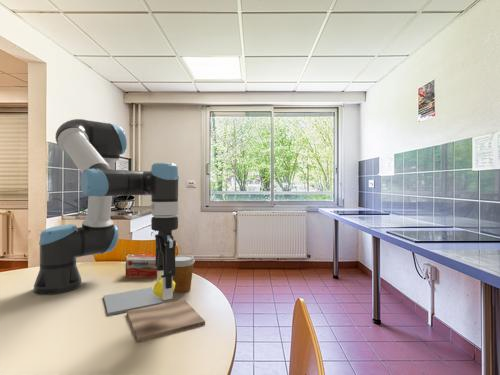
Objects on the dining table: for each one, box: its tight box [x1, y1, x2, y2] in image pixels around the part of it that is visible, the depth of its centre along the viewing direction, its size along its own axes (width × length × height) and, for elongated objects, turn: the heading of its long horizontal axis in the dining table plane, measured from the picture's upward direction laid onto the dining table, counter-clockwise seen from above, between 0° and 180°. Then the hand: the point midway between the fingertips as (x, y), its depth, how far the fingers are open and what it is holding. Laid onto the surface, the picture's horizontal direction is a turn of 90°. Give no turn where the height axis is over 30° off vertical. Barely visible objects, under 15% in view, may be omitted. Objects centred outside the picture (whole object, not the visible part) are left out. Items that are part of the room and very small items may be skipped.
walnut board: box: [126, 299, 206, 343], centre depth 84 cm, size 18×18×1 cm
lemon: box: [152, 279, 176, 299], centre depth 84 cm, size 7×5×5 cm
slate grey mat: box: [103, 287, 163, 316], centre depth 97 cm, size 16×16×1 cm
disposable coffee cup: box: [173, 254, 196, 293], centre depth 108 cm, size 10×10×12 cm
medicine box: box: [125, 254, 159, 278], centre depth 127 cm, size 15×8×8 cm, turn 91°
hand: (164, 295), depth 84 cm, fingers closed on lemon, 5 cm apart
